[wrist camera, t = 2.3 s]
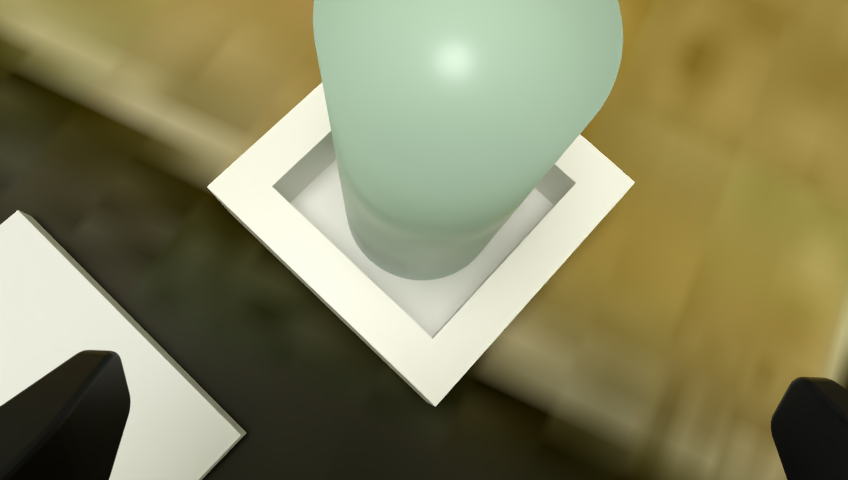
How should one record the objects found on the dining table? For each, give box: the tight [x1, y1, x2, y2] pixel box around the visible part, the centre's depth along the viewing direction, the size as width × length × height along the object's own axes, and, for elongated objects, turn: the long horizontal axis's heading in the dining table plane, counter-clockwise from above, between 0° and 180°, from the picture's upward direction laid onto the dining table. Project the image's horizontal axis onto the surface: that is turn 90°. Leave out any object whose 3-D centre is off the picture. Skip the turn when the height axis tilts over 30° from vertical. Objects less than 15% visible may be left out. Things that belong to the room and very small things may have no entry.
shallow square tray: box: [207, 83, 635, 407], centre depth 20 cm, size 9×9×3 cm
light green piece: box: [313, 0, 623, 280], centre depth 15 cm, size 5×5×11 cm
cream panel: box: [0, 210, 246, 480], centre depth 18 cm, size 10×10×1 cm
